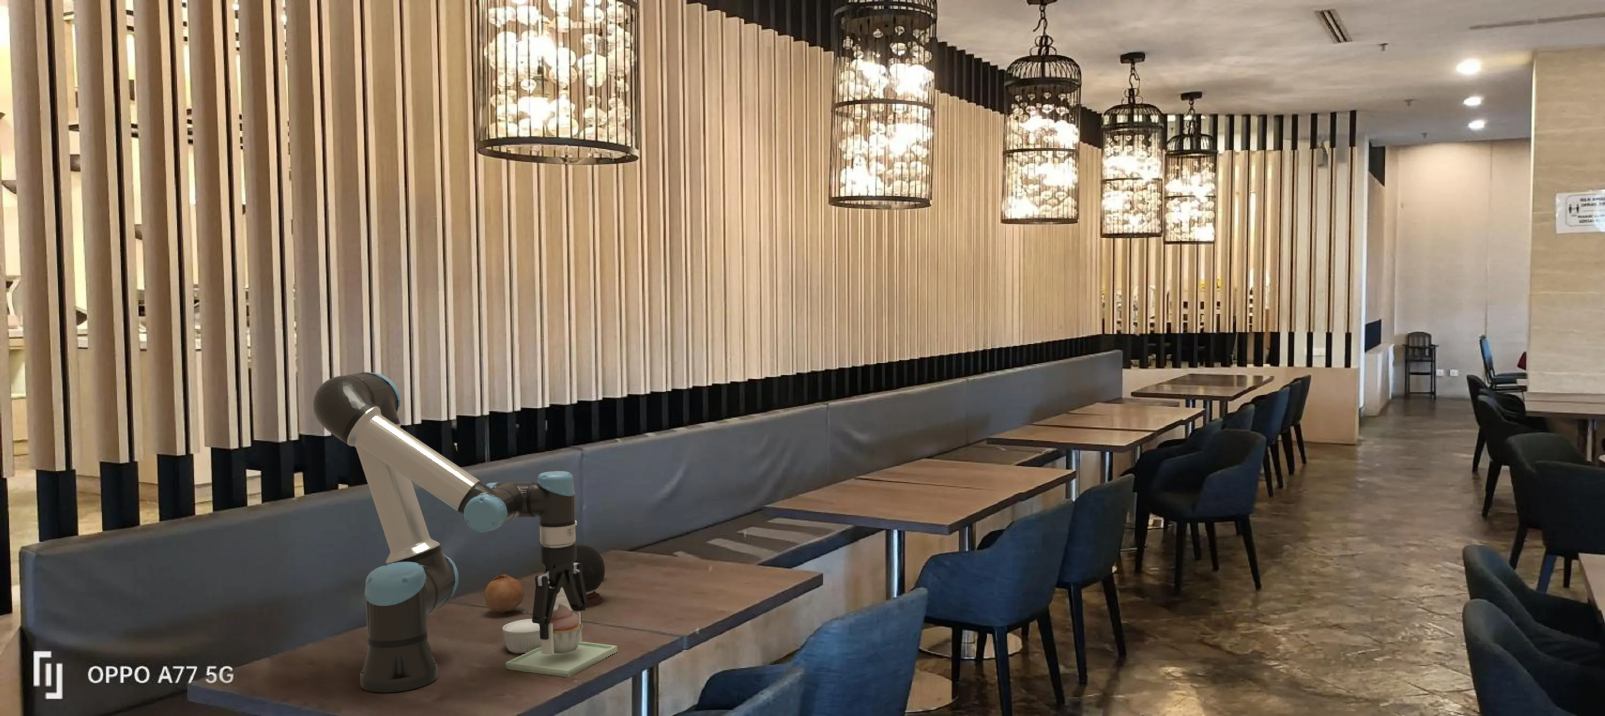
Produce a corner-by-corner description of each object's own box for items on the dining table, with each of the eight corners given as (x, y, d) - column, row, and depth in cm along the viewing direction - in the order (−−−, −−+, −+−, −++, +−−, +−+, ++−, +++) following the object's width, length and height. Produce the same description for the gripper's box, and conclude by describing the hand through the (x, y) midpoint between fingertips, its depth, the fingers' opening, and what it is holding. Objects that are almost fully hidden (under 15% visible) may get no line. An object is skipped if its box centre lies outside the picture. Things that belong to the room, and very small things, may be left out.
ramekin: (499, 645, 259) (498, 622, 259) (549, 638, 264) (548, 615, 263) (507, 658, 249) (506, 634, 249) (558, 651, 253) (558, 627, 253)
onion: (488, 620, 279) (486, 580, 279) (482, 611, 288) (481, 572, 287) (527, 615, 283) (526, 575, 283) (520, 606, 292) (519, 567, 291)
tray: (567, 677, 235) (567, 670, 235) (505, 668, 241) (505, 662, 241) (617, 652, 251) (617, 645, 251) (558, 644, 258) (557, 638, 258)
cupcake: (549, 642, 251) (547, 597, 251) (589, 643, 250) (588, 598, 249) (533, 655, 242) (531, 609, 242) (575, 656, 241) (574, 610, 240)
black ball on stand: (602, 594, 302) (600, 538, 302) (609, 606, 290) (607, 547, 289) (551, 599, 298) (549, 542, 297) (557, 611, 286) (554, 552, 285)
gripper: (540, 556, 234) (544, 664, 235) (602, 535, 253) (605, 634, 254) (511, 553, 237) (515, 659, 238) (574, 532, 256) (577, 631, 258)
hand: (561, 646), depth 246 cm, fingers closed on cupcake, 9 cm apart
